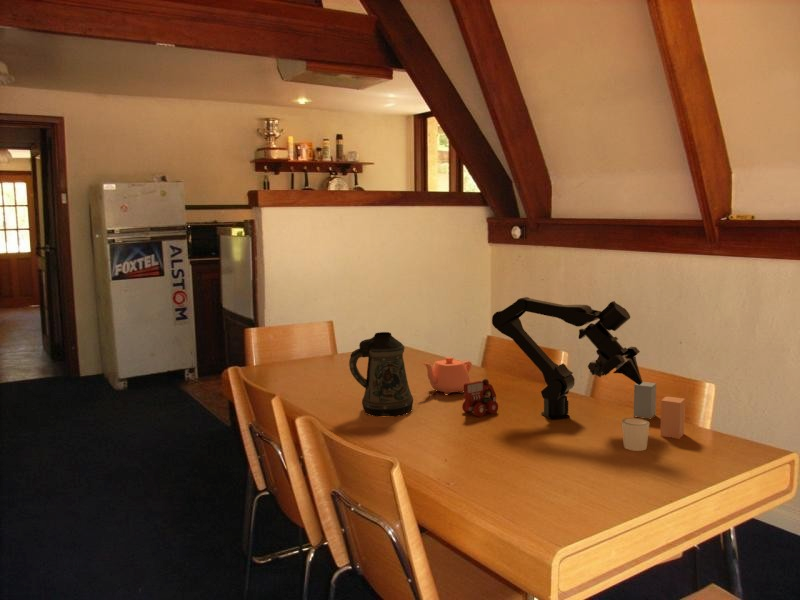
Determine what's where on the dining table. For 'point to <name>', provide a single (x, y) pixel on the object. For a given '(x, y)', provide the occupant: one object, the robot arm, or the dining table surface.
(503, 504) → the dining table surface
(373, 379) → the beer stein
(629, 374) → the robot arm
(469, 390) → the toy fire truck
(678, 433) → the terracotta post
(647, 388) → the slate post
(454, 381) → the teapot
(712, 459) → the dining table surface
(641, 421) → the white cup
